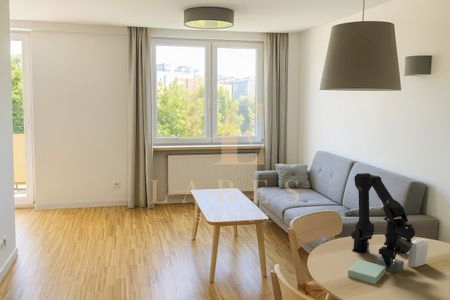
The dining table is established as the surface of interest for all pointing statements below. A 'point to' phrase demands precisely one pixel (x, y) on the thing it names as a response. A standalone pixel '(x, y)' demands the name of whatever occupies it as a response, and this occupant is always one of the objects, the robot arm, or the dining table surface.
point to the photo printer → (418, 253)
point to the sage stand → (367, 271)
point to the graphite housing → (392, 264)
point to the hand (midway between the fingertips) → (390, 264)
